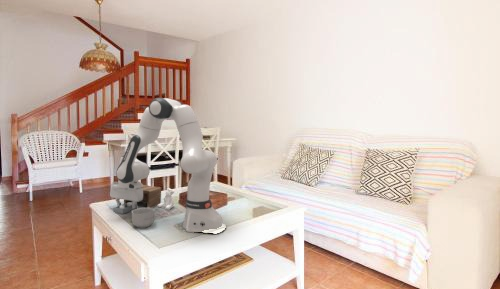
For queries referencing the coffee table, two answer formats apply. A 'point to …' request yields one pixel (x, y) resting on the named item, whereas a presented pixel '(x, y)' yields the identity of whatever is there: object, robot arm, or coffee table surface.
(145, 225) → the teacup
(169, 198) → the seated beast figurine
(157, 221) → the coffee table surface
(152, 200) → the wooden plank crate
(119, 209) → the tray
